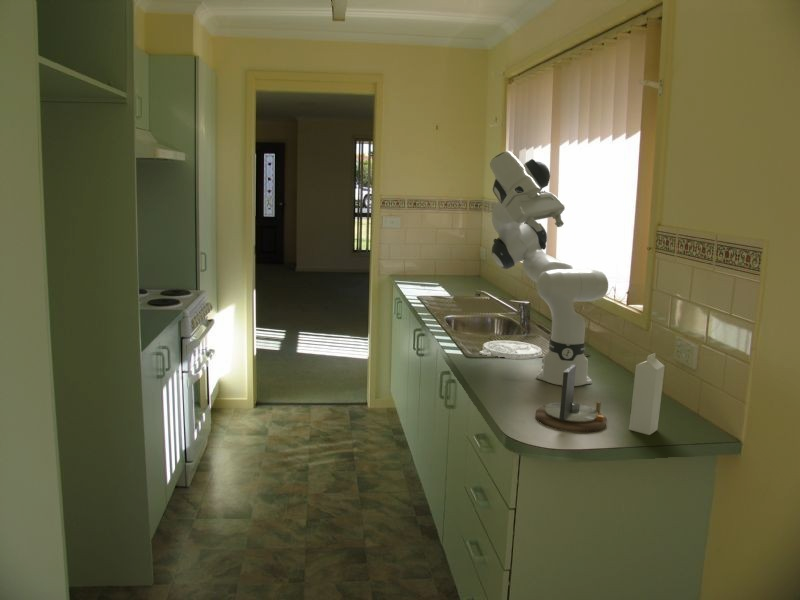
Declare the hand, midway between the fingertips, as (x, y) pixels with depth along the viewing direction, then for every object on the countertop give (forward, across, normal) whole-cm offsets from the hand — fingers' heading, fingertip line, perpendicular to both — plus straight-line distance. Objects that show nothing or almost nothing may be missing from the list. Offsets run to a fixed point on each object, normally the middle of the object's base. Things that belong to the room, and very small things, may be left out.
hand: (550, 227), depth 218 cm
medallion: (+7, -31, -76) cm, 82 cm away
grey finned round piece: (+50, +14, -23) cm, 56 cm away
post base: (+50, +13, -25) cm, 57 cm away
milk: (+63, +1, -15) cm, 65 cm away
